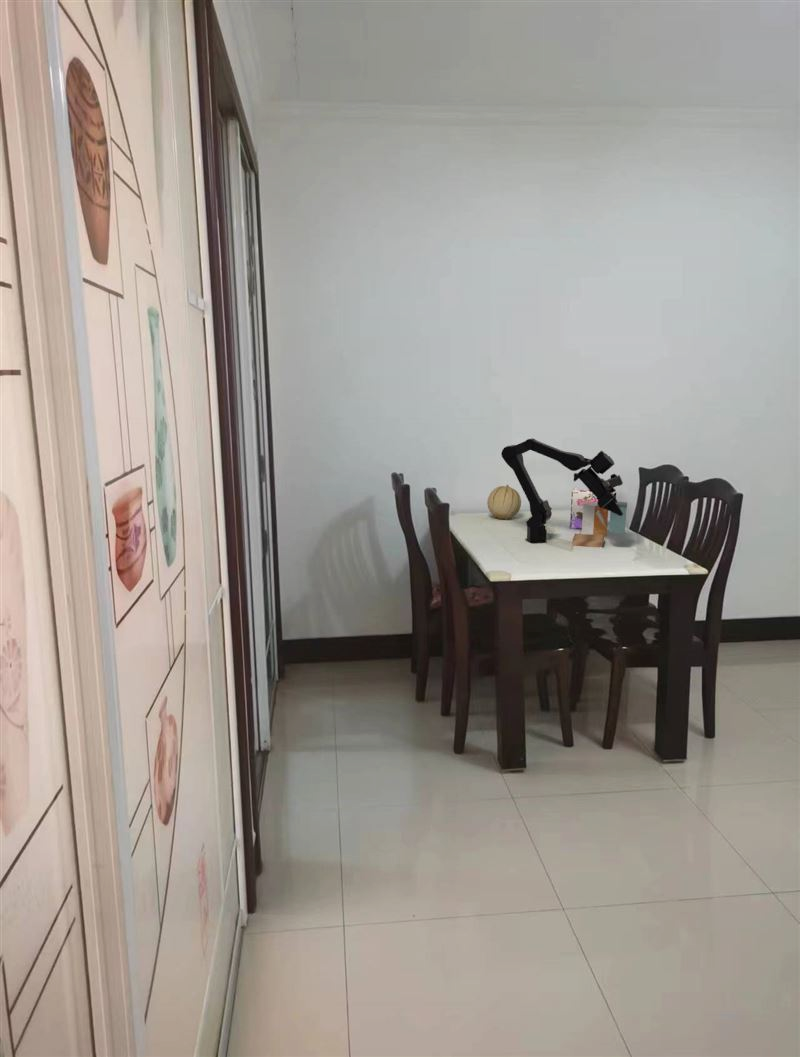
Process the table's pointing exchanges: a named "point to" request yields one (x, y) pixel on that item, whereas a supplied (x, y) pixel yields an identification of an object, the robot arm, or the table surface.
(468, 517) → the table surface
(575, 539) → the walnut block
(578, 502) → the candy box
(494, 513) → the cantaloupe
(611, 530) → the tea tin
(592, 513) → the small box
